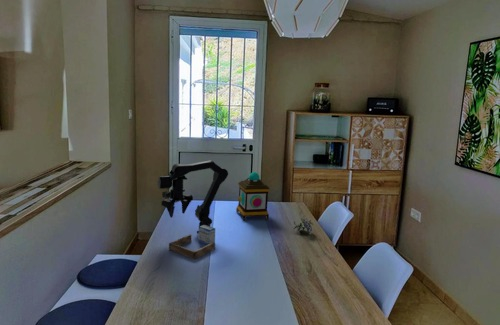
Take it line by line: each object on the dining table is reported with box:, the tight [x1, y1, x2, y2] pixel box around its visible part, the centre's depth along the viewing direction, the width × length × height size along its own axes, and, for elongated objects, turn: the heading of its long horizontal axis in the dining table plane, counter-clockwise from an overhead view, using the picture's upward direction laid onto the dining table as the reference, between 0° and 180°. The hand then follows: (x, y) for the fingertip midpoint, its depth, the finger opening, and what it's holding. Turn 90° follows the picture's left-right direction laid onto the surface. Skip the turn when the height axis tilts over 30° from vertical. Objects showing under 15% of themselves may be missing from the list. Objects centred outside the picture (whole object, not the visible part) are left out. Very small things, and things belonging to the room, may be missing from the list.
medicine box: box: [198, 225, 216, 245], centre depth 193 cm, size 8×4×9 cm, turn 57°
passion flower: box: [293, 217, 314, 236], centre depth 214 cm, size 11×11×12 cm
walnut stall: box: [168, 234, 216, 260], centre depth 184 cm, size 16×17×4 cm
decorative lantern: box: [235, 171, 271, 221], centre depth 238 cm, size 20×20×30 cm
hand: (177, 215), depth 198 cm, fingers open, 9 cm apart
